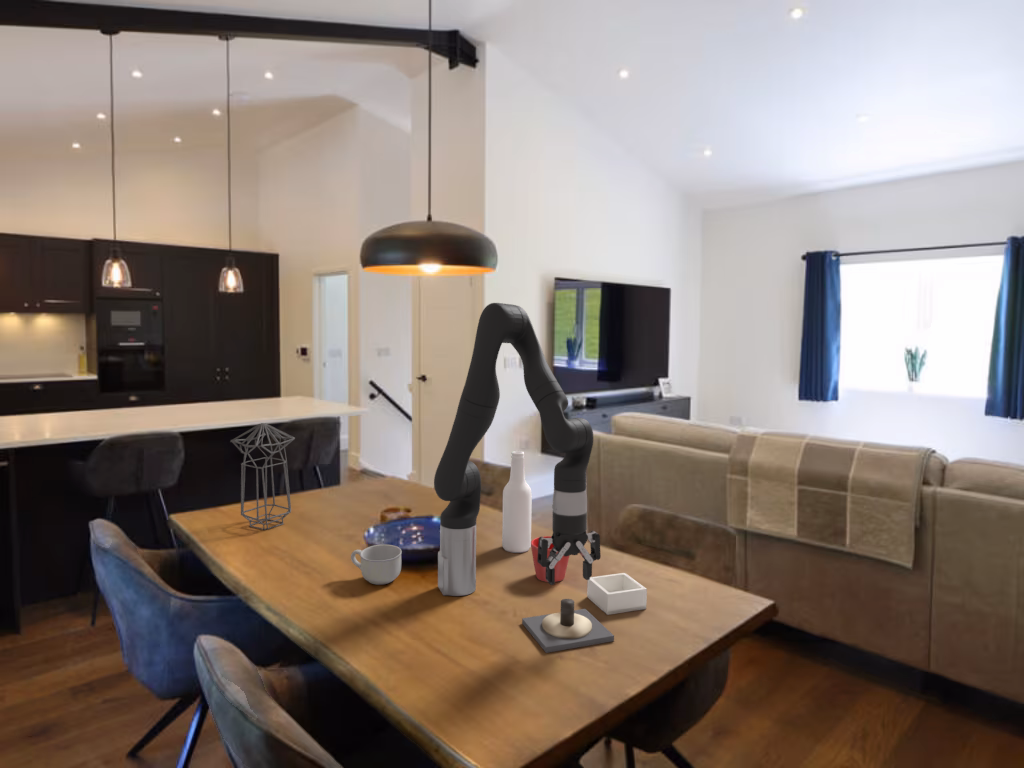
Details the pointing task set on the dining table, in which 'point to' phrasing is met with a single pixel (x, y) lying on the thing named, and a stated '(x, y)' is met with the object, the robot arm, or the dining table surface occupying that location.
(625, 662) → the dining table surface
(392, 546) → the teacup
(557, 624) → the lid
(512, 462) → the alcohol
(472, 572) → the robot arm
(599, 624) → the mat
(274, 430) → the geometric lantern
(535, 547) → the flower pot
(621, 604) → the dish
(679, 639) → the dining table surface
